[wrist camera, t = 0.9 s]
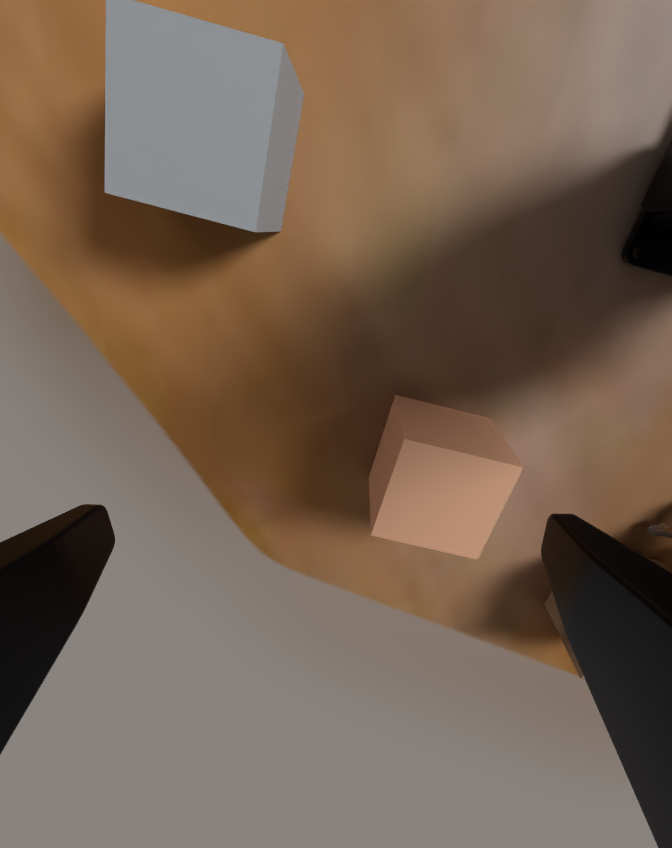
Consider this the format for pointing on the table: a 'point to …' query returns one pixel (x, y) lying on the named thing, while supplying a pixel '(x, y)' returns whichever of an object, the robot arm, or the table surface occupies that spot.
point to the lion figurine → (660, 530)
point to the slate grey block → (198, 117)
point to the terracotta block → (440, 478)
